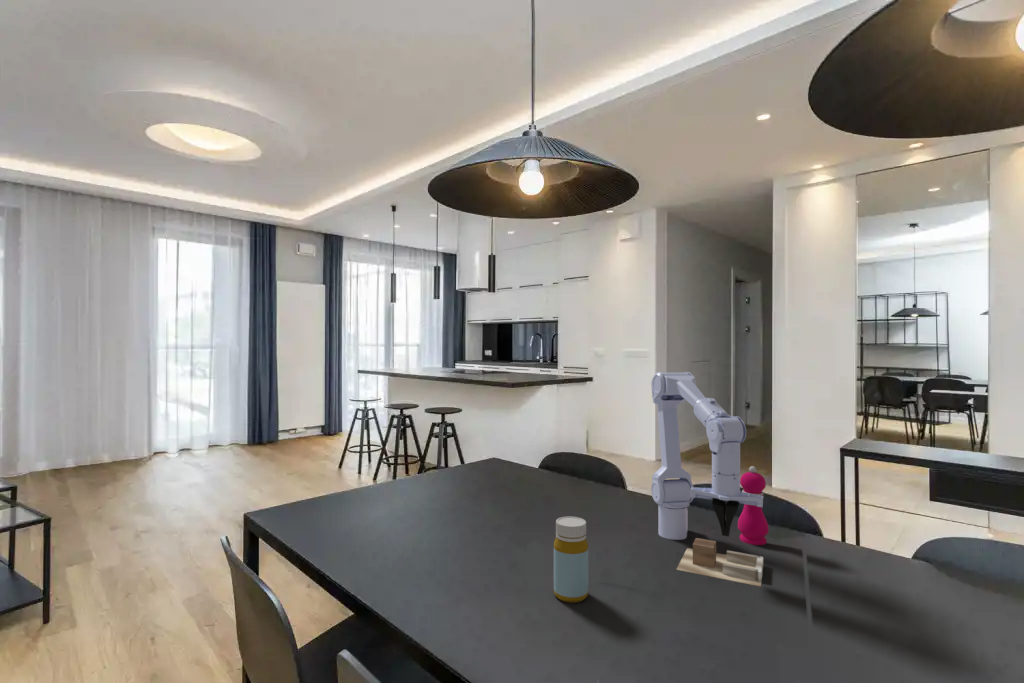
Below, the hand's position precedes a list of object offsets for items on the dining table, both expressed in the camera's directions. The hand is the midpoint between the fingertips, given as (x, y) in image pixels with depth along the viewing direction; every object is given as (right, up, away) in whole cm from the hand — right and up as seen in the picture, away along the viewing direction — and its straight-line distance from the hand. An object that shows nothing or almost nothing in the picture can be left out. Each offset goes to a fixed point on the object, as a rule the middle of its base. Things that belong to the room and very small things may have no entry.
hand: (725, 534), depth 111 cm
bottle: (-35, -10, -7) cm, 37 cm away
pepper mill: (+15, -10, +20) cm, 27 cm away
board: (+1, -10, +5) cm, 11 cm away
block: (-2, -9, +6) cm, 11 cm away
